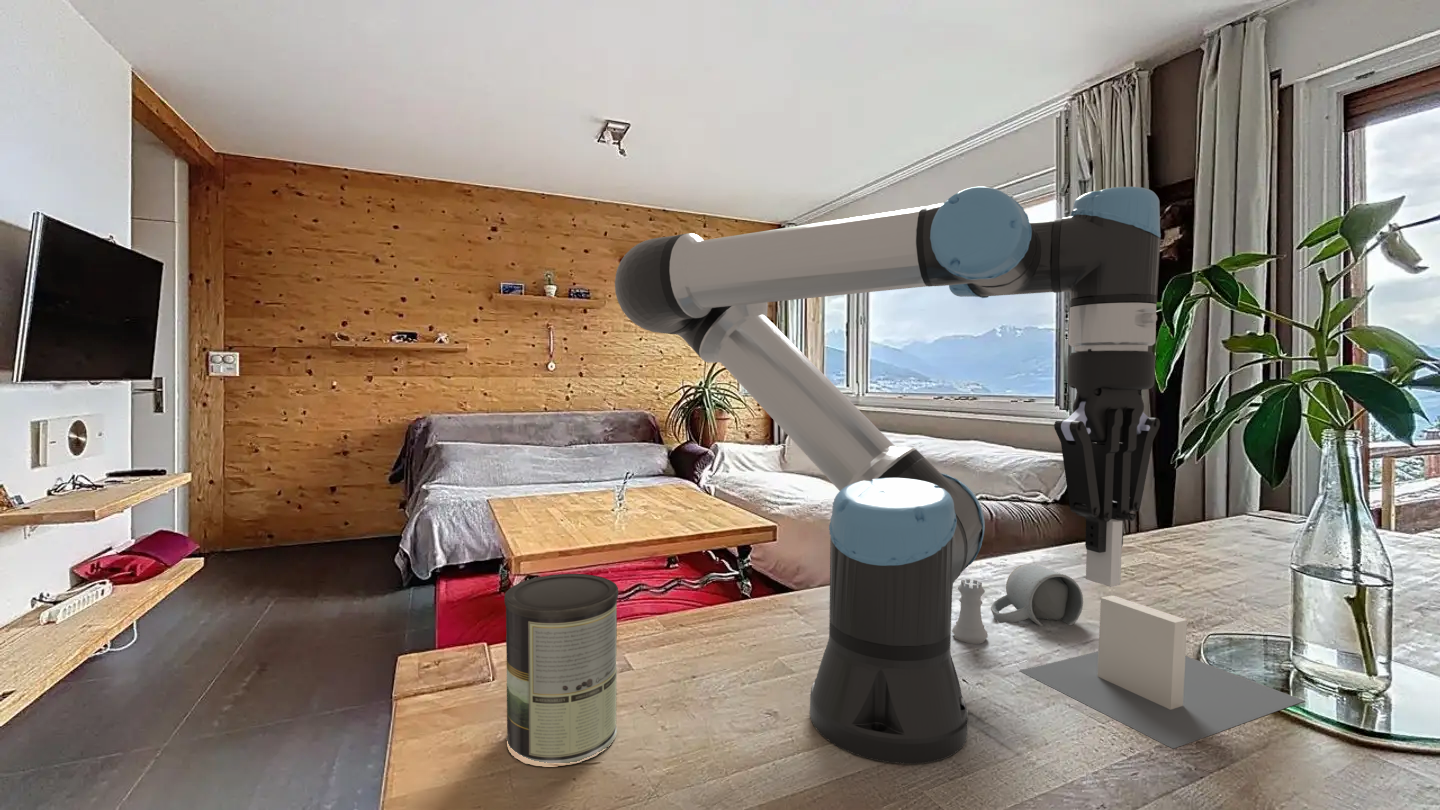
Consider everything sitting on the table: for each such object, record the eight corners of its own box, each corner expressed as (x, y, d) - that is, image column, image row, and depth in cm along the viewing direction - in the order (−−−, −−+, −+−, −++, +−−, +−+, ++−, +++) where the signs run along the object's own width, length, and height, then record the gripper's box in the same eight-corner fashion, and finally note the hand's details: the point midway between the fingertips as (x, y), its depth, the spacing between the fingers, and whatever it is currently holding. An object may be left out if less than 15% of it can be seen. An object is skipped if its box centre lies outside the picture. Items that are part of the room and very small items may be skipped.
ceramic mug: (1048, 608, 99) (1049, 557, 98) (1084, 630, 91) (1085, 574, 90) (979, 611, 98) (980, 559, 97) (1009, 633, 90) (1009, 577, 89)
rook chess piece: (973, 653, 83) (975, 590, 82) (943, 641, 86) (945, 580, 86) (995, 645, 85) (997, 584, 85) (965, 634, 89) (967, 574, 88)
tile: (1170, 709, 68) (1174, 622, 67) (1097, 676, 75) (1100, 597, 75) (1183, 705, 69) (1187, 619, 68) (1109, 673, 76) (1113, 595, 76)
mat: (1172, 757, 61) (1173, 748, 61) (1019, 677, 76) (1019, 670, 76) (1304, 708, 70) (1304, 700, 70) (1143, 646, 86) (1143, 640, 85)
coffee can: (480, 753, 60) (479, 600, 60) (549, 701, 70) (549, 568, 69) (578, 780, 57) (578, 616, 56) (637, 721, 66) (637, 580, 65)
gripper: (1102, 347, 61) (1093, 602, 62) (1190, 349, 66) (1181, 584, 67) (1032, 349, 68) (1026, 579, 69) (1118, 351, 73) (1110, 564, 74)
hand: (1102, 581), depth 68 cm, fingers closed
